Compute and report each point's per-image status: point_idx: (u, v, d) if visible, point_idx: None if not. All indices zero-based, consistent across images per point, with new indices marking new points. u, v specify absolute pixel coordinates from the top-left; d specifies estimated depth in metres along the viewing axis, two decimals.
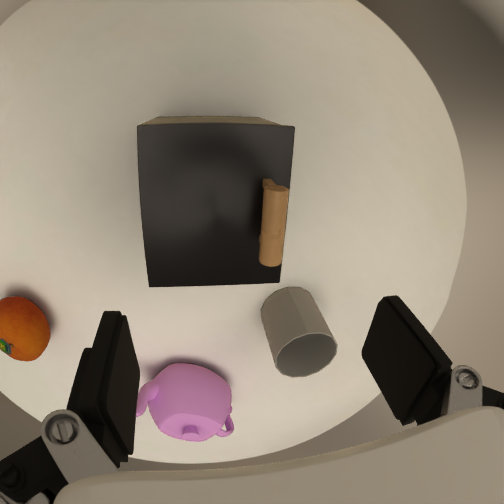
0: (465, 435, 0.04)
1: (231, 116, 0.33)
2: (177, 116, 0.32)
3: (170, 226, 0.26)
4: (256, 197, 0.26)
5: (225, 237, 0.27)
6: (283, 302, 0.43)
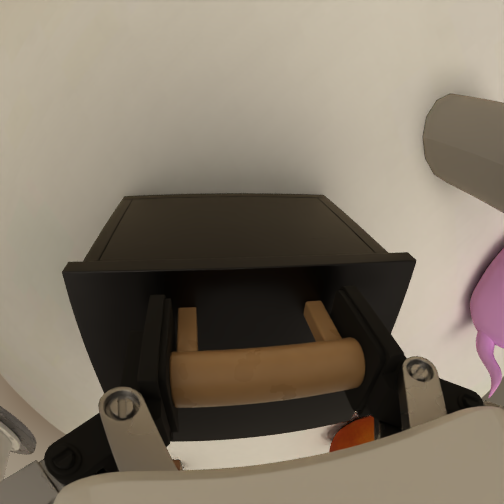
0: (465, 434, 0.04)
1: None
2: None
3: (265, 416, 0.16)
4: (220, 327, 0.12)
5: None
6: (445, 159, 0.20)
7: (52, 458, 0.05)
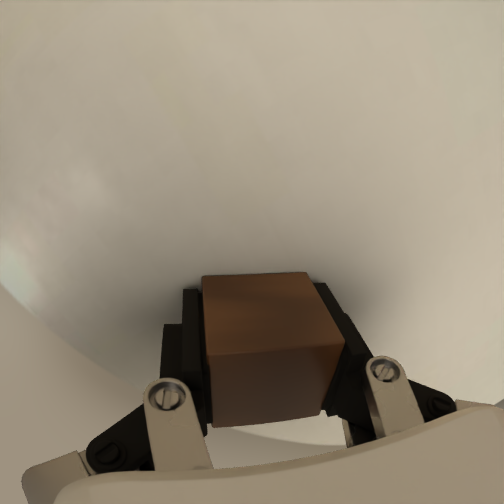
0: (465, 435, 0.04)
1: None
2: None
3: None
4: None
5: None
6: None
7: (96, 454, 0.05)
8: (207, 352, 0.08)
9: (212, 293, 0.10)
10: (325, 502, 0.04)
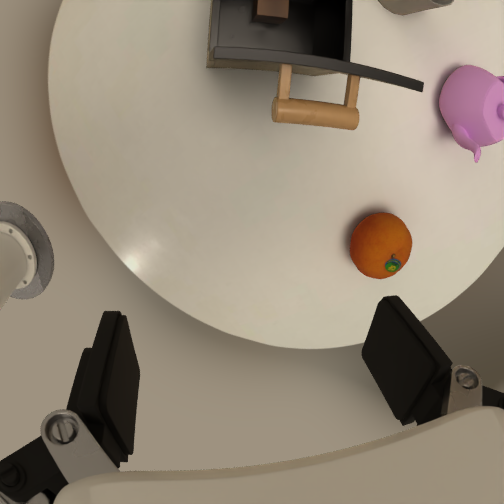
0: (465, 435, 0.04)
1: None
2: (207, 50, 0.34)
3: None
4: None
5: None
6: None
7: None
8: None
9: None
10: (325, 502, 0.04)
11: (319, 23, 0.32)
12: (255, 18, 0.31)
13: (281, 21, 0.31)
